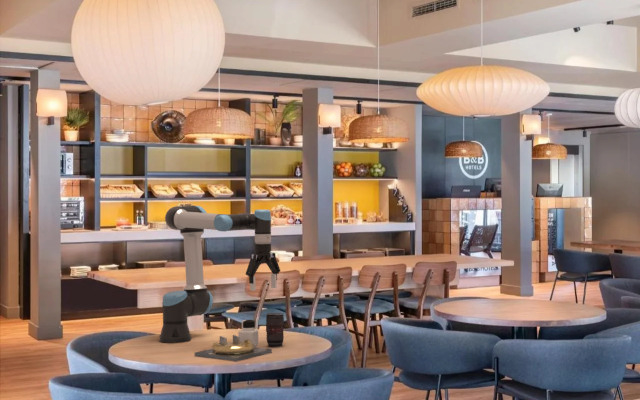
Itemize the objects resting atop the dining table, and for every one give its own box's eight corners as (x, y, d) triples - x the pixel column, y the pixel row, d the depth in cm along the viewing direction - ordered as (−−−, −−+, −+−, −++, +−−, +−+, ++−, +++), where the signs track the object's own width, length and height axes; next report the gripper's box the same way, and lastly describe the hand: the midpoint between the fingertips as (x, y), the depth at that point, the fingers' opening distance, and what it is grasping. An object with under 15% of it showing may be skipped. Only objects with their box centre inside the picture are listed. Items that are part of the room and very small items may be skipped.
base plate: (194, 355, 402) (194, 352, 402) (230, 347, 422) (230, 343, 422) (236, 361, 388) (236, 357, 388) (271, 352, 408) (271, 348, 408)
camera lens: (281, 347, 420) (281, 315, 419) (264, 347, 421) (264, 314, 421) (285, 344, 427) (285, 312, 427) (269, 344, 429) (268, 312, 429)
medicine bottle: (258, 344, 428) (258, 319, 428) (252, 347, 421) (252, 321, 421) (244, 344, 430) (244, 318, 430) (238, 346, 424) (238, 320, 423)
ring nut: (259, 351, 400) (259, 339, 400) (220, 355, 393) (220, 342, 393) (245, 345, 417) (245, 333, 417) (207, 348, 409) (207, 336, 409)
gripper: (249, 245, 411) (249, 292, 412) (287, 241, 430) (288, 287, 430) (237, 244, 416) (238, 291, 417) (276, 241, 435) (276, 286, 435)
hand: (263, 289), depth 423 cm, fingers open, 13 cm apart
